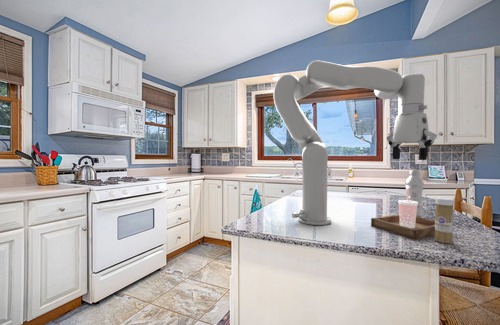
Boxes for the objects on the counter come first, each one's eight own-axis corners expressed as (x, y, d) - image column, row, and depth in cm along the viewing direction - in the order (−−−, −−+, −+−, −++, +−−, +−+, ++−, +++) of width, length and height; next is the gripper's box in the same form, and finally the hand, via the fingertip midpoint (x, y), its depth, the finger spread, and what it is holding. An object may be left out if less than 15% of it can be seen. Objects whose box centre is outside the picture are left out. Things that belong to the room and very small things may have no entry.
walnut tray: (413, 239, 79) (413, 230, 79) (371, 226, 94) (371, 218, 94) (448, 232, 86) (448, 223, 86) (403, 221, 101) (403, 213, 101)
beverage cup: (417, 229, 86) (418, 189, 86) (397, 227, 89) (397, 187, 89) (417, 225, 91) (418, 187, 91) (397, 223, 95) (398, 185, 94)
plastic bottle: (426, 220, 103) (427, 171, 102) (407, 219, 104) (409, 170, 103) (419, 216, 109) (420, 170, 108) (401, 215, 110) (402, 169, 110)
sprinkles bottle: (433, 241, 78) (434, 198, 77) (434, 237, 81) (436, 196, 81) (452, 245, 75) (454, 199, 74) (453, 241, 78) (454, 197, 78)
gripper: (444, 107, 82) (442, 160, 83) (395, 114, 98) (393, 158, 99) (429, 105, 79) (427, 160, 80) (381, 113, 95) (380, 158, 96)
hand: (408, 159), depth 89 cm, fingers open, 9 cm apart
